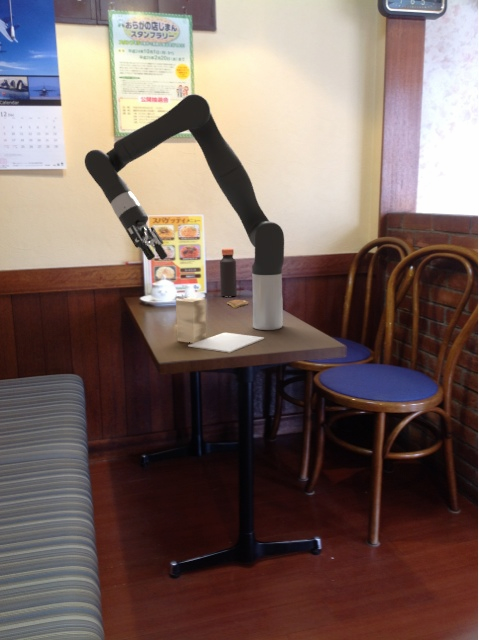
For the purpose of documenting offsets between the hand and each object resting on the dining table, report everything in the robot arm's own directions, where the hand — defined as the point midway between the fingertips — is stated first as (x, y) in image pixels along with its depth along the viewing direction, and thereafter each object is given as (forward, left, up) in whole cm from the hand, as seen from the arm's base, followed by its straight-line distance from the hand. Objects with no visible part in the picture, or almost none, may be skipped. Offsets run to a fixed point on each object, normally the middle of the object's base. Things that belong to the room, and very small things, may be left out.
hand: (158, 258), depth 165 cm
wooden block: (-3, +9, -24) cm, 26 cm away
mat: (-5, +20, -24) cm, 31 cm away
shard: (-58, -10, -24) cm, 64 cm away
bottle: (-74, -26, -24) cm, 82 cm away
